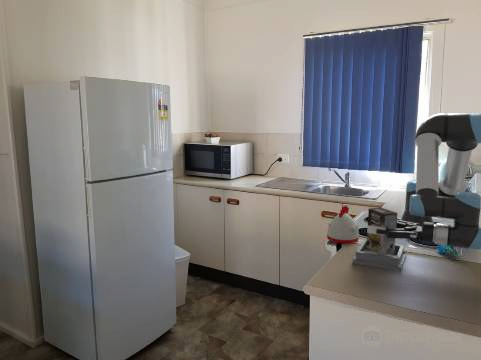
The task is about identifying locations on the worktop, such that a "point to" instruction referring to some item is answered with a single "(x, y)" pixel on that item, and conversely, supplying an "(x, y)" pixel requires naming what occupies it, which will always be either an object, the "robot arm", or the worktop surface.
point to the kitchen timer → (343, 228)
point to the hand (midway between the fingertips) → (370, 225)
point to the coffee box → (381, 219)
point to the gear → (445, 248)
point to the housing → (380, 258)
